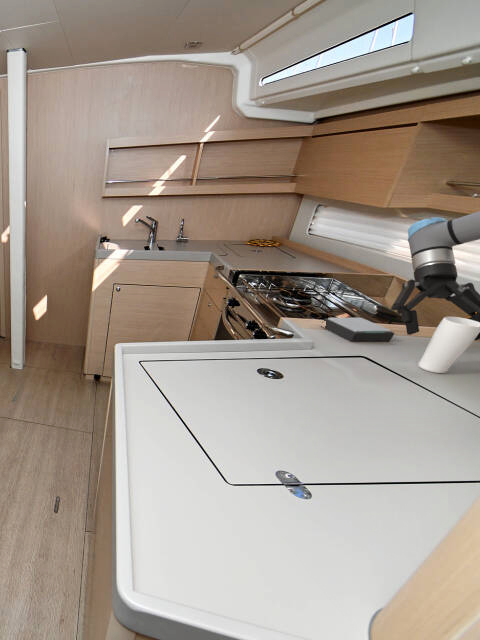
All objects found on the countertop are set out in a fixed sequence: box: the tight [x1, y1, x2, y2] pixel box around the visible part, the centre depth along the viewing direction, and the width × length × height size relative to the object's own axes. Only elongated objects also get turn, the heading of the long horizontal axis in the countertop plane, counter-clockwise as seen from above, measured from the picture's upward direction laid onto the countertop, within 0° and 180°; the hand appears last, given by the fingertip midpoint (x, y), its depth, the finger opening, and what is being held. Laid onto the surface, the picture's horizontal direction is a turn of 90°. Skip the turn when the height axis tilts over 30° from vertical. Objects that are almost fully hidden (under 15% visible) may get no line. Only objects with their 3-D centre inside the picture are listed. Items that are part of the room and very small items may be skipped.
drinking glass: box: [417, 316, 480, 374], centre depth 97 cm, size 7×7×15 cm
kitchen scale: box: [323, 317, 395, 343], centre depth 120 cm, size 12×12×4 cm
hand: (445, 336), depth 97 cm, fingers open, 13 cm apart
